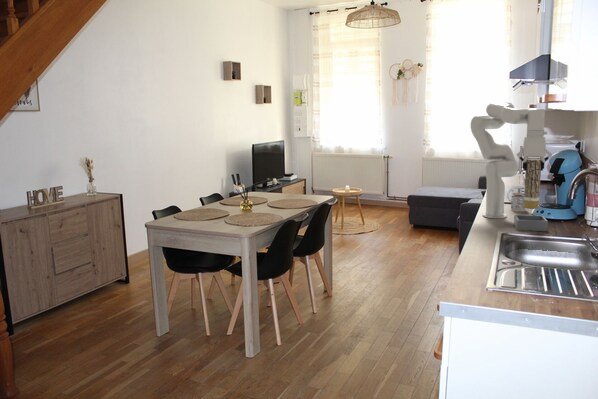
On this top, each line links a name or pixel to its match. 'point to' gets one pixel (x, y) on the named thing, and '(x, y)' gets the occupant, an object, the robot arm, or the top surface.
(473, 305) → the top surface
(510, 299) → the top surface
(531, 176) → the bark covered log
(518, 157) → the robot arm
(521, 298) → the top surface
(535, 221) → the box
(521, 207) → the french press
